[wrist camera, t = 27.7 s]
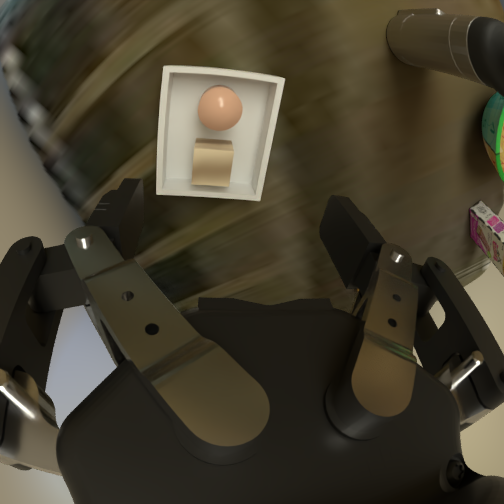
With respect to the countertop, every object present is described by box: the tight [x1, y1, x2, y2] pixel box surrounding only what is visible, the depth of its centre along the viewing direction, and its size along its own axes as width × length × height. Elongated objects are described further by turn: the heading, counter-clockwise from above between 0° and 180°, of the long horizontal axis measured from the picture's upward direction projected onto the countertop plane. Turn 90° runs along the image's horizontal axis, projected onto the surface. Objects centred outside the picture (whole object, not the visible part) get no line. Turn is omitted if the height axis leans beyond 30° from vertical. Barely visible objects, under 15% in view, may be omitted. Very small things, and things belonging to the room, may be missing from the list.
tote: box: [156, 65, 285, 201], centre depth 35 cm, size 18×15×5 cm
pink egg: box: [198, 85, 243, 131], centre depth 31 cm, size 5×5×7 cm
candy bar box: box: [469, 200, 504, 276], centre depth 49 cm, size 11×5×16 cm, turn 34°
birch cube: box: [191, 138, 234, 187], centre depth 37 cm, size 5×5×5 cm
